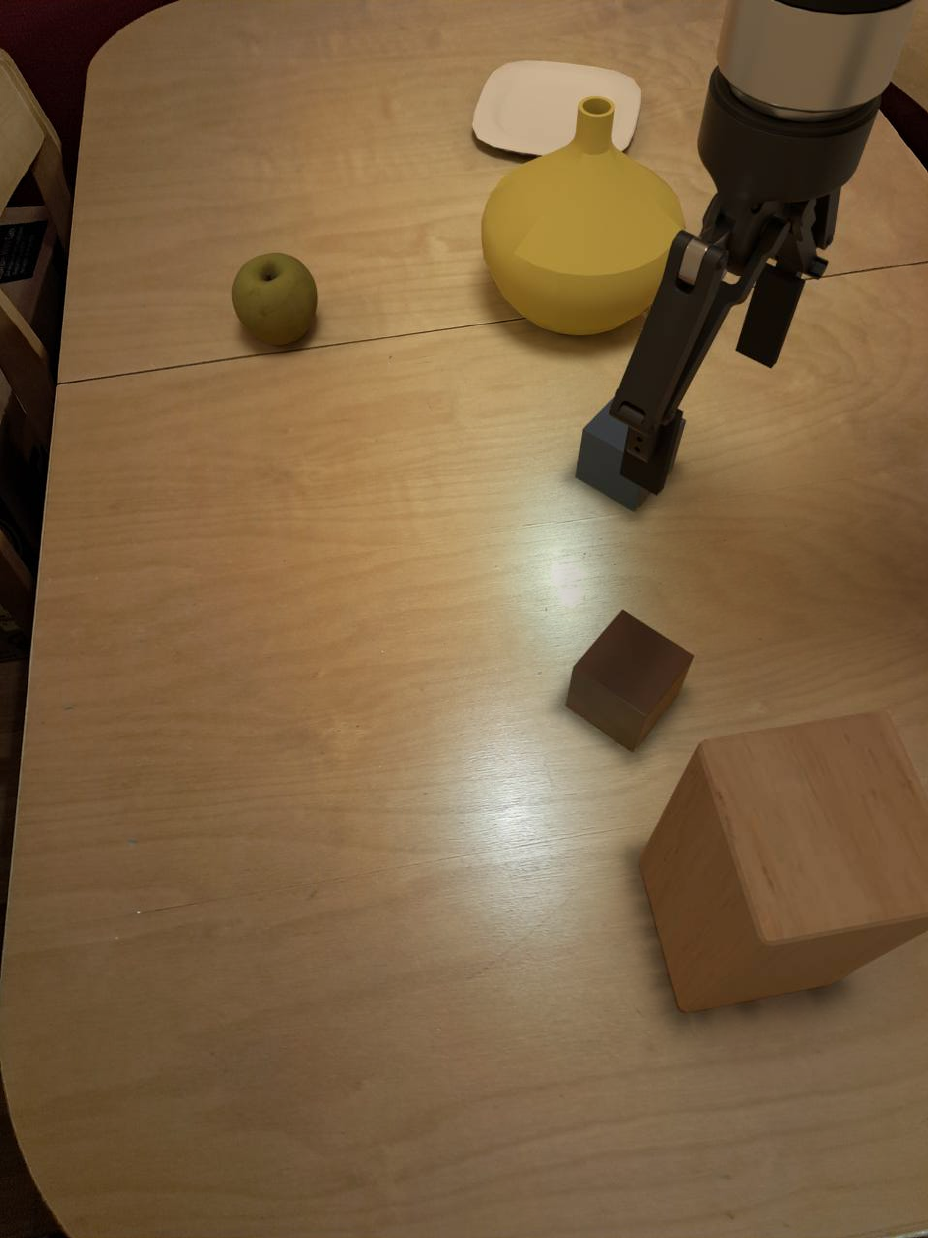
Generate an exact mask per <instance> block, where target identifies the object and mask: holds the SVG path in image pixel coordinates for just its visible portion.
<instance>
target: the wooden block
mask: <svg viewBox="0 0 928 1238" xmlns="http://www.w3.org/2000/svg"><path fill="white" fill-rule="evenodd" d="M638 863H639V867H640V870H641V875H642V878H643V881H644V886H645V889H646V893H647V896H648V901H649V903H650V907H651V911H652V914H653V918H654V922H655V926H656V929H657V933H658V937H659V941H660V944H661V948H662V952H663V956H664V959H665V963H666V966H667V970H668V975H669V977H670V980H671V981H670V982H671V985H672V988H673V992H674V995H675V999H676V1003H677V1006H678V1007H679V1009H680V1010H681V1011H682V1012H685V1013H691V1012H692V1013H693V1012H696V1011H703V1010H708V1009H712V1008H718V1007H724V1006H728V1005H733V1004H738V1003H744V1002H750V1001H755V1000H760V999H765V998H770V997H774V996H775V997H776V996H781V995H786V994H790V993H796V992H801V991H806V990H811V989H816V988H818V989H819V988H822V987H827V986H830V985H832V984H833V983H836V982H837V981H840V980H841V979H843V978H844V977H846V976H848V975H850V974H851V973H854V972H855V971H857V970H859V969H861V968H862V967H864V966H867V965H869V964H870V963H872V962H873V961H875V960H877V959H879V958H881V957H883V956H884V955H885V954H888V953H890V952H891V951H893V950H895V949H897V948H899V947H900V946H902V945H904V944H906V943H908V942H910V941H911V940H914V939H915V938H917V937H918V936H920V935H922V934H924V933H926V932H928V796H927V793H926V792H925V789H924V787H923V785H922V783H921V781H920V778H919V776H918V774H917V772H916V770H915V767H914V765H913V763H912V760H911V758H910V756H909V754H908V752H907V750H906V747H905V745H904V742H903V741H902V738H901V736H900V734H899V731H898V729H897V727H896V725H895V722H894V721H893V717H892V715H891V714H890V713H889V712H888V711H887V710H880V709H879V710H874V711H866V712H862V713H854V714H848V715H843V716H838V717H832V718H825V719H819V720H813V721H807V722H801V723H796V724H789V725H783V726H779V727H772V728H765V729H759V730H754V731H748V732H747V731H746V732H742V733H737V734H736V733H735V734H730V735H724V736H718V737H712V738H708V739H707V738H706V739H703V740H702V741H699V742H698V744H697V745H696V747H695V749H694V751H693V753H692V755H691V757H690V759H689V761H688V764H686V767H685V769H684V771H683V773H682V775H681V776H680V779H679V780H678V782H677V784H676V786H675V788H674V790H673V792H672V794H671V796H670V798H669V800H668V802H667V804H666V806H665V807H664V810H663V811H662V813H661V815H660V817H659V819H658V821H657V823H656V825H655V827H654V829H653V831H652V833H651V835H650V836H649V838H648V841H647V843H646V845H645V847H644V848H643V850H642V853H640V856H639V861H638Z"/></svg>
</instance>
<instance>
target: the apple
mask: <svg viewBox="0 0 928 1238" xmlns="http://www.w3.org/2000/svg"><path fill="white" fill-rule="evenodd" d="M318 295H319V294H318V287H317V283H316V281H315V278H314V276H313V274H312V273H311V271H310V270H309V268H307V266H306V265H305V264H304V263H303V262H302V261H301V260H299V259H298V258H296V257H295V256H292V255H289V254H286V253H283V252H269V253H265V254H261V255H258V256H255V257H253V258H251V259H249V260H248V261H246V262H245V263H243V264H242V265H241V267H240V268H239V269H238V271H237V272H236V274H235V277H234V279H233V282H232V287H231V303H232V306H233V310H234V313H235V315H236V317H237V319H238V320H239V322H240V324H241V325H242V326H243V328H244V329H245V330H246V331H247V332H248V333H249V334H250V335H251V336H252V337H254V338H255V339H257V340H258V341H260V342H261V343H263V344H268V345H271V346H284V345H288V344H291V343H294V342H295V341H298V340H299V339H301V338H302V337H303V336H304V335H305V334H306V333H307V332H308V330H309V329H310V327H311V325H312V324H313V321H314V319H315V317H316V314H317V309H318V302H319V301H318V300H319V297H318Z"/></svg>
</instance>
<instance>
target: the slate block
mask: <svg viewBox="0 0 928 1238" xmlns="http://www.w3.org/2000/svg"><path fill="white" fill-rule="evenodd" d="M614 398H615V395H614V396H613V397H612V398H611V399H610V400H609V401H608V402H607V403H606V404H605V405H604V406H603V408H601V410H599V412H597V413H596V414H595V415H594V416H593V418H591V419H590V420H589V422H587V423H586V425H585V426H583V428H582V431H581V437H580V444H579V451H578V456H577V457H578V458H577V464H576V465H577V466H576V470H575V471H576V472H575V478H577V479H579V480H580V481H582V482H584V483H586V484H587V485H588V486H590V487H592V488H594V489H595V490H597V491H599V492H600V493H602V494H604V495H605V496H607V497H609V498H610V499H611V500H614V501H615V502H617V503H619V504H620V505H622V506H624V507H625V508H627V509H629V510H630V511H632V512H635V511H636V510H637V509H638V508H639V507H640V506H641V504H643V502H644V501H645V500H646V499H647V498H648V497H649V496H650V494H652V493H651V492H649V491H647V490H646V489H644V488H642V487H640V486H639V485H637V484H635V483H633V482H632V481H630V480H628V479H627V478H625V477H623V476H621V475H620V474H619V473H620V468H621V463H622V458H623V452H624V447H625V442H626V437H627V432H628V427H629V426H627V425H625V424H623V423H622V422H620V421H618V420H616V419H614V418H613V417H611V416H610V415H609V410H610V407H611V404H612V402H613V400H614ZM686 423H687V419H685V418H684V417H682V420H681V424H680V428H679V431H678V435H677V439H676V443H675V447H674V451H673V454H672V458H671V462H670V466H669V470H668V473H667V475H669V474H670V473H671V471H672V470H673V469H674V466H675V464H676V463H675V462H676V460H677V459H676V458H677V455H678V452H679V447H680V444H681V441H682V437H683V435H684V431H685V428H686V427H685V426H686Z"/></svg>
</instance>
